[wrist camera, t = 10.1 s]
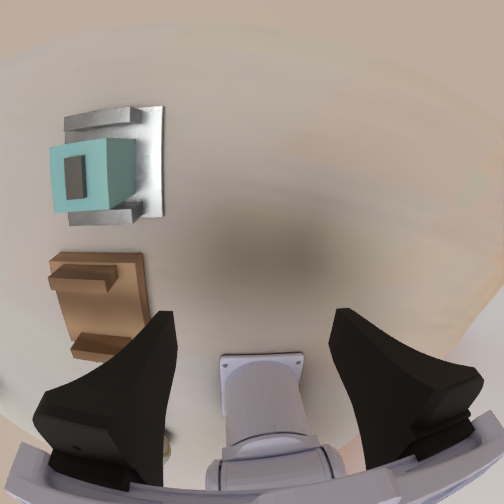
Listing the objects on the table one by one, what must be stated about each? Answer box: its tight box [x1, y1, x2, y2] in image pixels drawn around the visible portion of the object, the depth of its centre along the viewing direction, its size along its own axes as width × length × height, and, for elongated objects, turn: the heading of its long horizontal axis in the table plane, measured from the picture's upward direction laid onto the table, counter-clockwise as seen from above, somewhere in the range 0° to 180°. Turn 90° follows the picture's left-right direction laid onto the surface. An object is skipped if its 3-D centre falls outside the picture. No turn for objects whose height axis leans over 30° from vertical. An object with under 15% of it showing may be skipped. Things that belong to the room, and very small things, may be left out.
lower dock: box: [64, 106, 164, 226], centre depth 17 cm, size 8×8×3 cm
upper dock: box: [48, 252, 151, 363], centre depth 20 cm, size 8×8×4 cm
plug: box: [50, 138, 136, 213], centre depth 16 cm, size 4×4×6 cm
